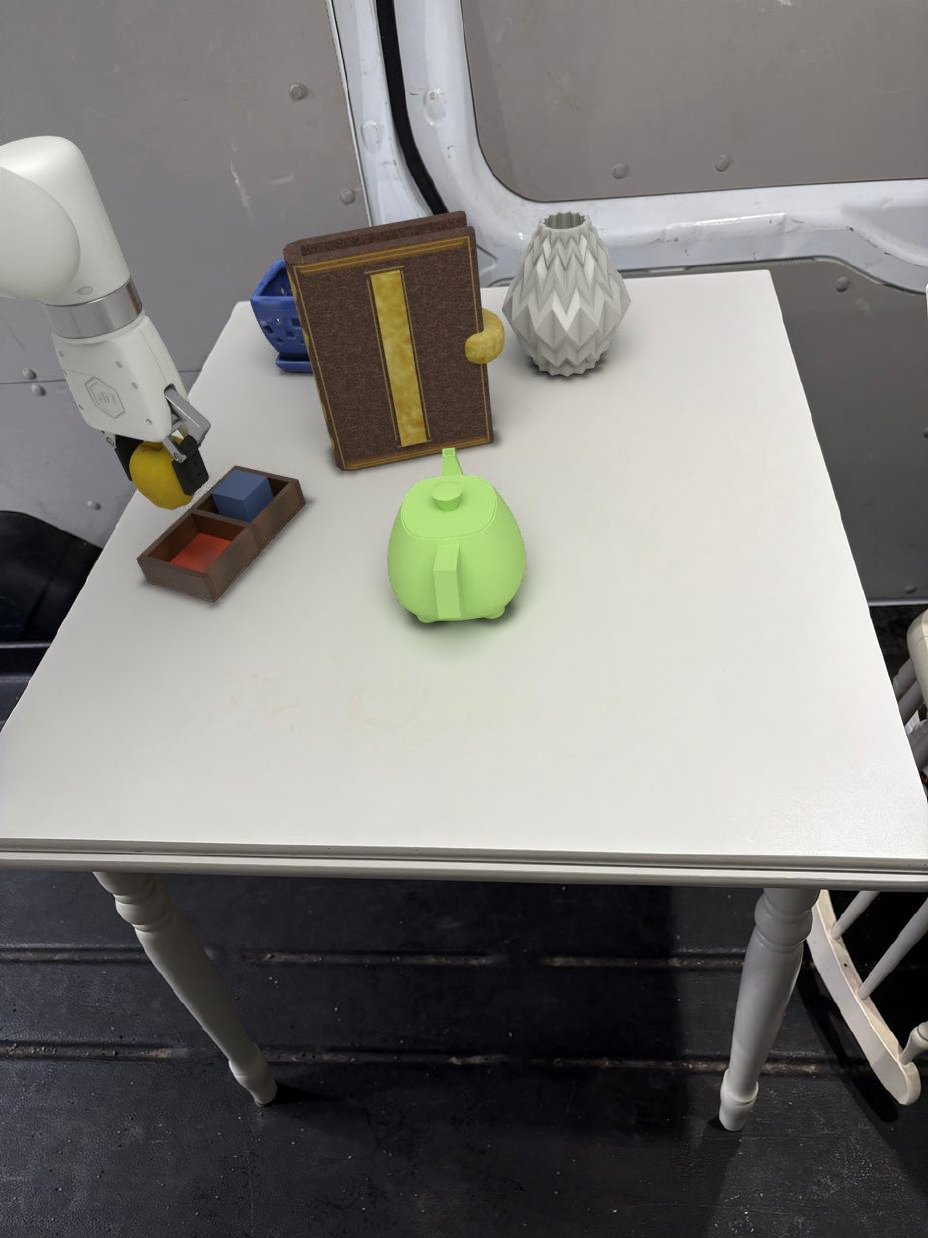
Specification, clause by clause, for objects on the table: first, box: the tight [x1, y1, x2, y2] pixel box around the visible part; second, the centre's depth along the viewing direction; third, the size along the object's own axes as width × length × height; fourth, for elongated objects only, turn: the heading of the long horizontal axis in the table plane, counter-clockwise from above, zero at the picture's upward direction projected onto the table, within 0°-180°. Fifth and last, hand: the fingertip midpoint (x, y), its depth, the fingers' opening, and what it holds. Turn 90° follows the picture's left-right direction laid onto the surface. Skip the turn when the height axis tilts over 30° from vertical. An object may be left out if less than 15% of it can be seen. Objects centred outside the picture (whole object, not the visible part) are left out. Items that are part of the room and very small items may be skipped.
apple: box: [129, 434, 196, 511], centre depth 82 cm, size 6×6×8 cm
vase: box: [501, 209, 632, 378], centre depth 106 cm, size 16×16×18 cm
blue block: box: [211, 470, 274, 523], centre depth 94 cm, size 4×4×4 cm
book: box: [282, 210, 506, 472], centre depth 94 cm, size 22×8×25 cm, turn 101°
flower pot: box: [249, 258, 313, 373], centre depth 117 cm, size 13×13×12 cm
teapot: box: [387, 448, 527, 624], centre depth 80 cm, size 20×13×13 cm
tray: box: [135, 464, 307, 603], centre depth 92 cm, size 17×9×3 cm, turn 154°
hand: (169, 479), depth 83 cm, fingers closed on apple, 6 cm apart
